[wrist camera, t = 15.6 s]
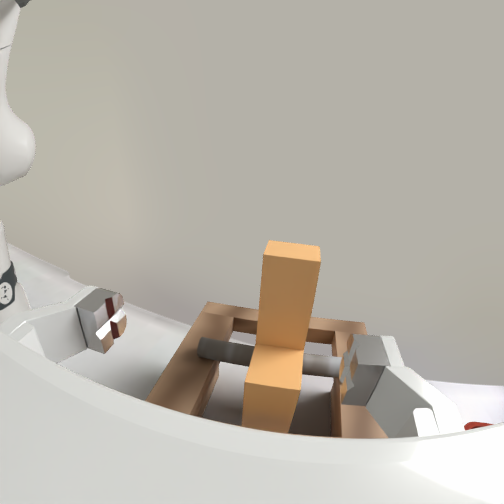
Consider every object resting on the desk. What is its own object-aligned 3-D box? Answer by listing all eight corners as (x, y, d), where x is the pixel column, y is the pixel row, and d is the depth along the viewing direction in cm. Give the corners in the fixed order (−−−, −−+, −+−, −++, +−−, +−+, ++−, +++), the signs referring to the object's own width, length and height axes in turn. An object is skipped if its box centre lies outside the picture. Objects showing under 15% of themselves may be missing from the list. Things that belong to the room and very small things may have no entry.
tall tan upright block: (239, 461, 24) (251, 284, 16) (258, 386, 35) (275, 224, 27) (276, 467, 24) (323, 294, 16) (288, 390, 35) (317, 229, 26)
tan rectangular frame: (159, 482, 23) (126, 406, 17) (209, 373, 41) (207, 287, 36) (341, 511, 20) (402, 448, 14) (340, 392, 38) (368, 309, 33)
